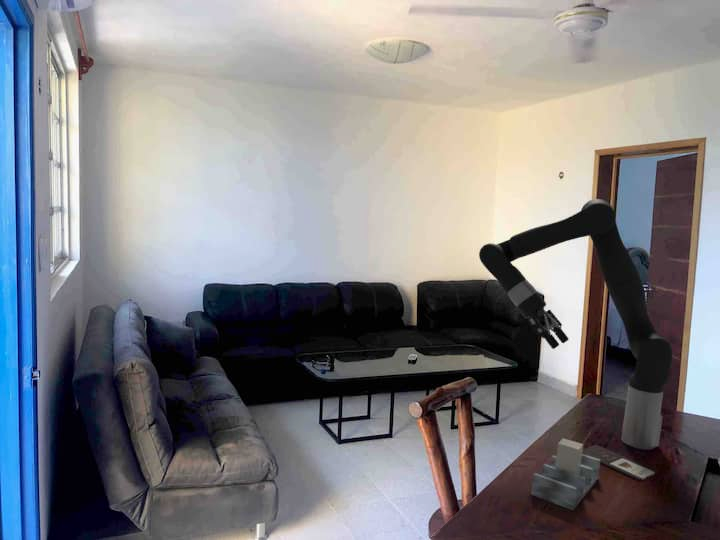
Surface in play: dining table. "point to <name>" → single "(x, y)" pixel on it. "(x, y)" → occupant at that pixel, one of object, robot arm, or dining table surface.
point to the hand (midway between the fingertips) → (561, 344)
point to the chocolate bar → (619, 463)
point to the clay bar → (569, 456)
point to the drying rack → (565, 482)
